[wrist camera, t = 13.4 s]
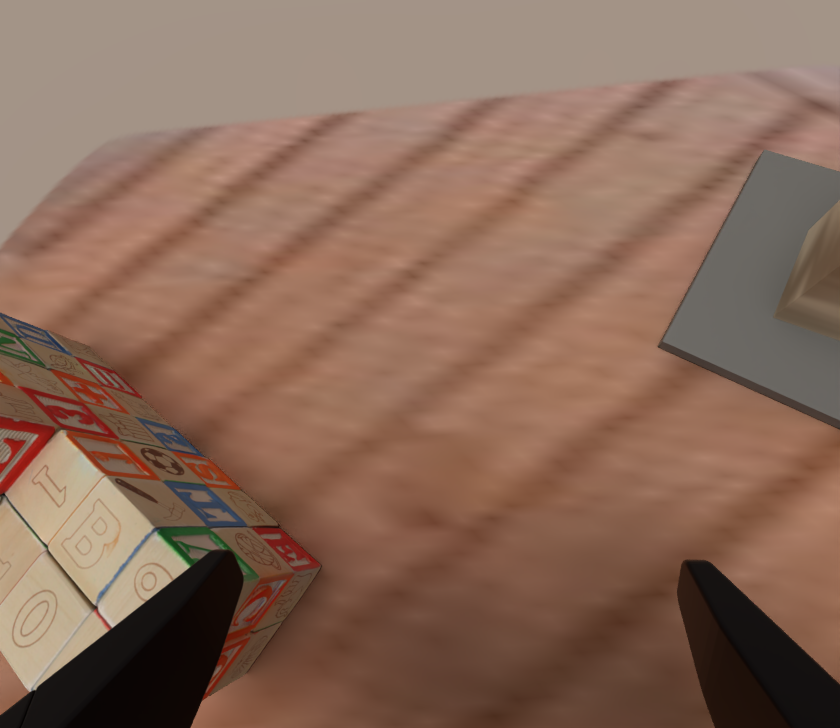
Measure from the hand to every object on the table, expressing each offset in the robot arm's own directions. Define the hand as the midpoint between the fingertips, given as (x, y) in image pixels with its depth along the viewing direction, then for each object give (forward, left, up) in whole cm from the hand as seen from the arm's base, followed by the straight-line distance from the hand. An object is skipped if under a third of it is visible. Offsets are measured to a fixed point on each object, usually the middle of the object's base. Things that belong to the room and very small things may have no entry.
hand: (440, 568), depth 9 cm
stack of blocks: (+17, +8, -14) cm, 23 cm away
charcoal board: (-9, -18, -14) cm, 24 cm away
